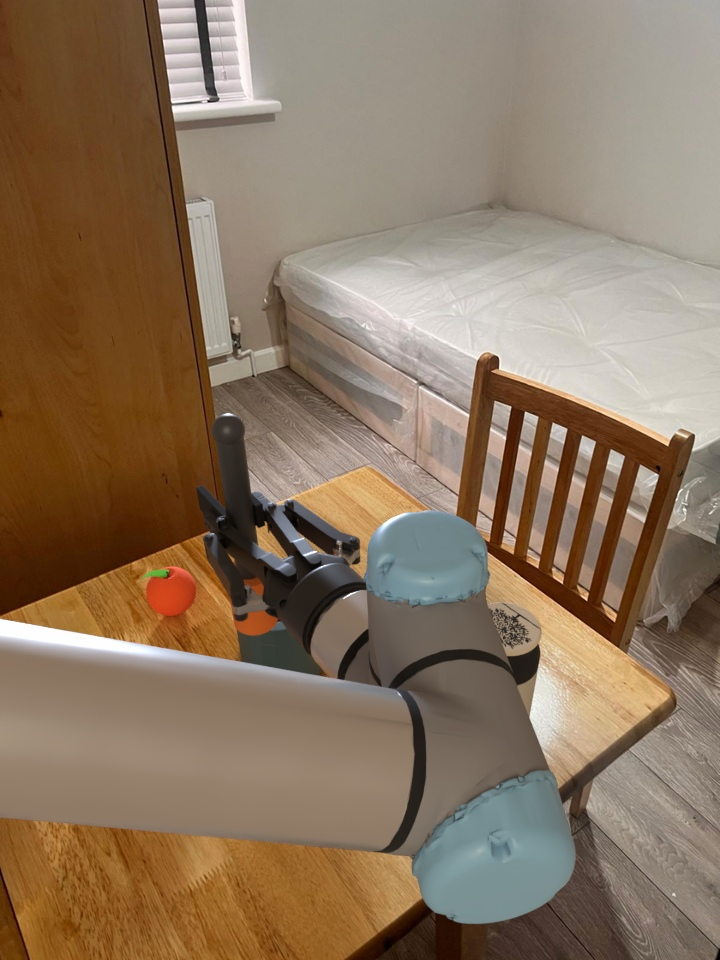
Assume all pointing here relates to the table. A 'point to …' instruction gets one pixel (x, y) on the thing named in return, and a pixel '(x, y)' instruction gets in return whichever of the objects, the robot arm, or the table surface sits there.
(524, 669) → the travel mug
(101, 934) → the table surface
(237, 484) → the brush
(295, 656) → the dark grey pipe sleeve
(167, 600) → the clementine
